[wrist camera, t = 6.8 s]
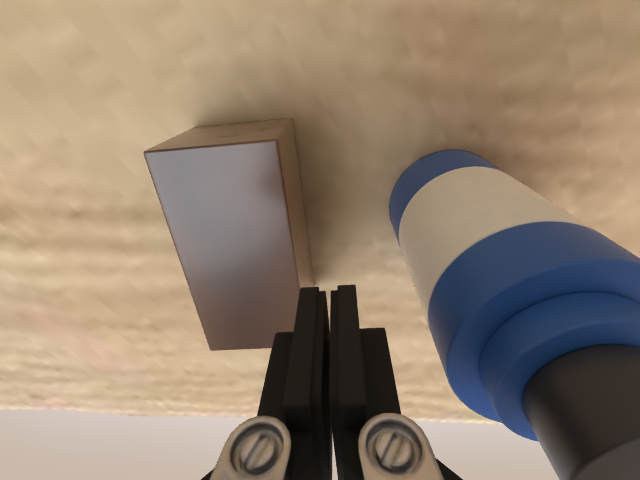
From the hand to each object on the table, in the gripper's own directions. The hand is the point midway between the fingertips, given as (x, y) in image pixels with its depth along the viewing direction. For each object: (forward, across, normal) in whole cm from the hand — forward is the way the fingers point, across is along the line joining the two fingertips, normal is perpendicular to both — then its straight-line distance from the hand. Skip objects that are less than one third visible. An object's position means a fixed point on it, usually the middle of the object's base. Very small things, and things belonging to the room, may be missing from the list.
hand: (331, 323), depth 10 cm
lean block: (+9, +4, 0) cm, 10 cm away
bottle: (+8, -2, 0) cm, 8 cm away
